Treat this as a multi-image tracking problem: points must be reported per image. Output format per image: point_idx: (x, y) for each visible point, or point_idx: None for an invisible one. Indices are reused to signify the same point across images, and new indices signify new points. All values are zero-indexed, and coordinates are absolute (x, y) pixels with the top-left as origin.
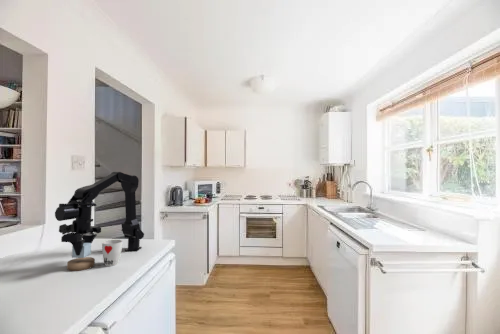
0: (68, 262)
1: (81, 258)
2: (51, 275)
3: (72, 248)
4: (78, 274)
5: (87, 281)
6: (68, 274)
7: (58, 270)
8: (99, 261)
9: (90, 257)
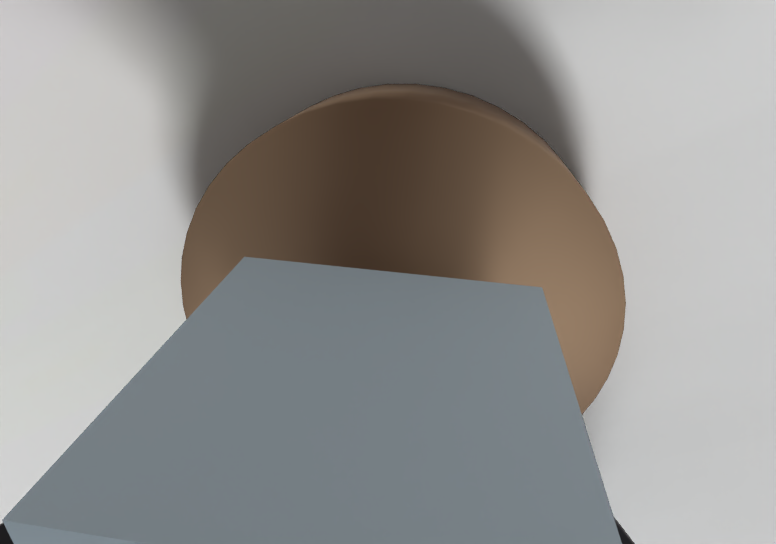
0: (281, 149)
1: (539, 272)
2: (6, 44)
3: (94, 423)
4: (142, 363)
5: (30, 488)
6: (110, 259)
7: (208, 8)
8: (633, 417)
9: (588, 394)
